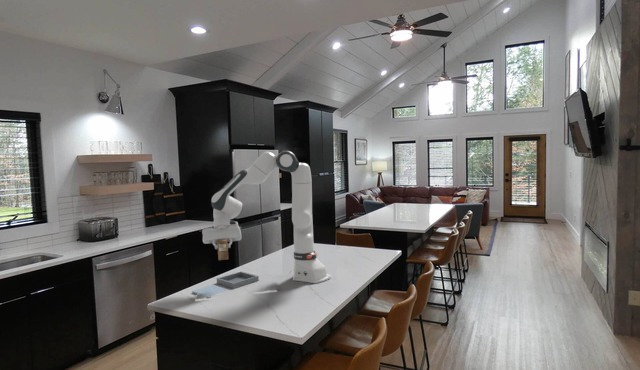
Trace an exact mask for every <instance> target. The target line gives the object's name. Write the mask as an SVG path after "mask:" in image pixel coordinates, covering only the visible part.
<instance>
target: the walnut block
mask: <svg viewBox="0 0 640 370" xmlns="http://www.w3.org/2000/svg"><path fill="white" fill-rule="evenodd" d="M227 244H229V243H228V242H227V239H220V240H217V243H216V245H217V246H218V249H217V255H218V256H217V257H218V261H224V260H229V248H228V245H227Z"/></svg>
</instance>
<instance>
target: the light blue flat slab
mask: <svg viewBox="0 0 640 370" xmlns="http://www.w3.org/2000/svg"><path fill="white" fill-rule="evenodd" d="M226 291H228V289H227V288H223V287H220V286H217V285H215V284H211V285H208V286H205V287H201V288H197V289H194V290H192V294H194V295H197V296H198V294H199V295H202V296H204V297H205V298H206V299H210V298H211V296H213V295H214V296H215V295H216V294H219V293H222V292H223V293H224V292H226Z"/></svg>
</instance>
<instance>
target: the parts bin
mask: <svg viewBox="0 0 640 370" xmlns="http://www.w3.org/2000/svg"><path fill="white" fill-rule="evenodd" d="M255 282H259V275H256V274H252V273H249V272H244V271H238V272H234V273H231V274H226V275H224V276H221V277H217V278H216V284H219V285H222V286H225V287H228V288H231V289H236V288H240V287H243V286H247V285H249V284H252V283H255Z"/></svg>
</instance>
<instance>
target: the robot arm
mask: <svg viewBox="0 0 640 370" xmlns="http://www.w3.org/2000/svg"><path fill="white" fill-rule="evenodd" d="M276 169H280V170H281V171H284V172H288V173H290V174H291V193H292V195H291V196H292V197H291V221H292V225H293V250H294V252H293V258H294V263H293V274H292V281H298V282H303V283H311V284H318V283H322V282H325V281H328V280H330V279H331V278H332V275H331V274H329V273H328V272H327V267H326V265H325V264H323V262H321V261H320V260H319V259H318V255H319V254H318V252H316V251H315V246H314V244H315V243H314V224H313V187H312V186H313V185H312V184H313V183H312V182H313V181H312V173H311V167H310V165H309V164H308V163H306V162H299V160H298V158H297V157H296V155H295V153H293V152H292V151H290V150H282V151H281V152H280V153H278V154H274V153H273V152H271V151H264V152H263V153H262V154H260V155H259V156H258V157H257V158H256V159H255V160H254V162H253V163H252V164H251V165H250V167H248V168H246V169H243V170H240V171H239V172H237V174H235V175H234V176H233V177H231V179H230V180H229V181H228V182H227V183H225V184H224V185H223V187H222V188H221V189H219V190H218V191H216V192H215V193H214V194H213V195H212V196H211V199H210V203H211V207H212V209H213V212H212V213H213V214H212V215H213V216H212V217H213V223H212V224H213V226H211V227H210V226H209V227H205V228H203V229H202V230H201V234H202V243H203V244H205V245H206V244H212V245H213V246H214V249H215V250H218V246H217V240H220V239H227V243H228V242H229V243H228V244H227V245H228V249H231V245H232V244H233V242H238V241H239V242H240V241H241V240H242V237H243V236H242V231H241V228H240V226H239V223H238V221H235V220H234V219H235V218H238V217H239V216H241V215H242V213H243V210H244V205H243V202H242V201H240V200H238V199H236V198H234V197H233V196H231V194H233V192H234V191H235V190H236V189H237V188H238V187H239V186H241V185H244V184H248V185H261V184H264V182H265V181H267V179H268V178H269V177H270V175H271V174H272V173H273V171H274V170H276Z"/></svg>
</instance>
